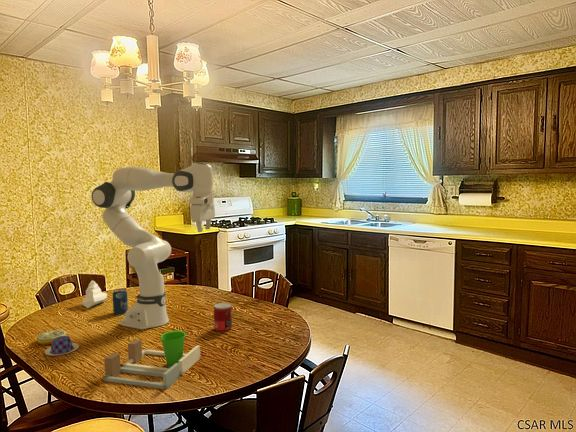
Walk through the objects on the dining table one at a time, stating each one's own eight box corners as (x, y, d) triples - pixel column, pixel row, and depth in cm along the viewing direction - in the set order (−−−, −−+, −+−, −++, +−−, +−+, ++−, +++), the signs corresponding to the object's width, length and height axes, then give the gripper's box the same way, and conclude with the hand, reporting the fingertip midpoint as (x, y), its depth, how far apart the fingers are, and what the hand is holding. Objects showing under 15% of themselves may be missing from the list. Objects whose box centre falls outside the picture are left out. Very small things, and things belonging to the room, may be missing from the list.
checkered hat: (55, 359, 151) (54, 346, 151) (38, 353, 157) (37, 340, 157) (85, 348, 161) (84, 336, 161) (68, 342, 168) (67, 330, 167)
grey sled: (101, 380, 134) (100, 360, 134) (117, 369, 142) (116, 350, 141) (166, 389, 128) (165, 368, 127) (179, 377, 136) (178, 357, 135)
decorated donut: (70, 340, 170) (69, 332, 169) (41, 348, 162) (41, 339, 161) (61, 334, 177) (61, 326, 176) (34, 341, 169) (33, 333, 168)
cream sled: (120, 367, 144) (119, 348, 143) (142, 351, 156) (142, 334, 156) (182, 374, 137) (181, 355, 137) (200, 358, 150) (199, 340, 150)
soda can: (124, 315, 201) (123, 291, 200) (111, 315, 201) (109, 292, 200) (130, 310, 208) (129, 288, 207) (117, 310, 208) (116, 288, 207)
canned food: (228, 332, 176) (228, 308, 175) (211, 331, 178) (211, 307, 177) (234, 326, 183) (233, 303, 182) (218, 325, 185) (217, 302, 184)
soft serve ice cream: (75, 311, 213) (70, 285, 214) (95, 305, 227) (89, 281, 228) (95, 306, 210) (89, 280, 211) (113, 300, 225) (108, 276, 226)
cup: (164, 359, 150) (163, 331, 149) (188, 358, 150) (187, 330, 149) (158, 370, 141) (157, 340, 140) (184, 369, 141) (183, 339, 140)
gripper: (204, 198, 185) (205, 227, 186) (187, 200, 165) (188, 233, 166) (217, 198, 184) (218, 228, 185) (201, 200, 164) (202, 233, 165)
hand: (204, 230), depth 175 cm, fingers open, 8 cm apart
